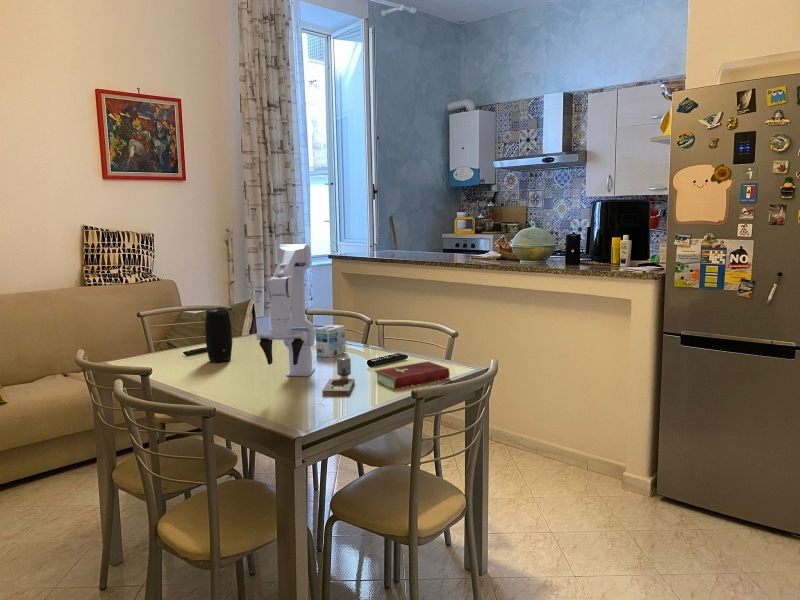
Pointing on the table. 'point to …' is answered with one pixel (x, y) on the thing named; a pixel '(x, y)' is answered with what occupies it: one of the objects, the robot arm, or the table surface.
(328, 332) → the light bulb box
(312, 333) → the robot arm
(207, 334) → the portable speaker
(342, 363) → the peg
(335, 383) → the keyhole plate
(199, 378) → the table surface
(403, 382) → the hardcover book
